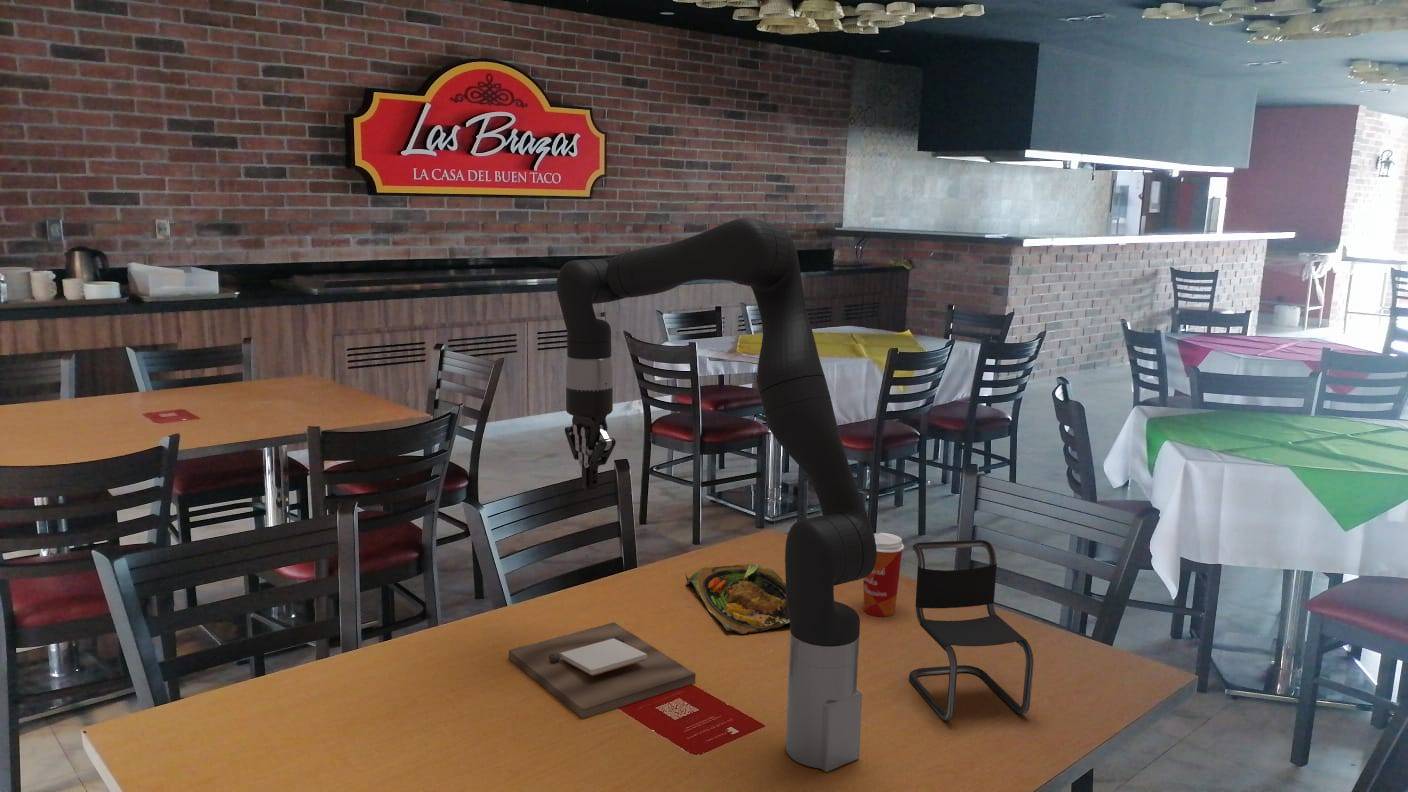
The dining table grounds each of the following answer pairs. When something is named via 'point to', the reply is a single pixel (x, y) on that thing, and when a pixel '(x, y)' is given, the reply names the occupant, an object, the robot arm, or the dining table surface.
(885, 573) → the paper cup
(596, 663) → the tile
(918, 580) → the chair
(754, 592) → the prepared meal
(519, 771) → the dining table surface
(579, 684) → the walnut board
